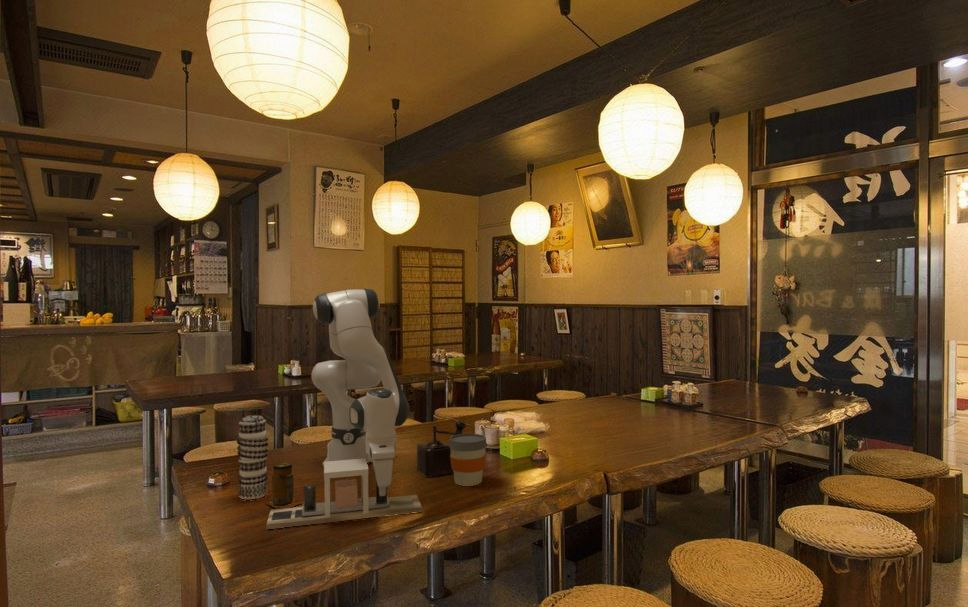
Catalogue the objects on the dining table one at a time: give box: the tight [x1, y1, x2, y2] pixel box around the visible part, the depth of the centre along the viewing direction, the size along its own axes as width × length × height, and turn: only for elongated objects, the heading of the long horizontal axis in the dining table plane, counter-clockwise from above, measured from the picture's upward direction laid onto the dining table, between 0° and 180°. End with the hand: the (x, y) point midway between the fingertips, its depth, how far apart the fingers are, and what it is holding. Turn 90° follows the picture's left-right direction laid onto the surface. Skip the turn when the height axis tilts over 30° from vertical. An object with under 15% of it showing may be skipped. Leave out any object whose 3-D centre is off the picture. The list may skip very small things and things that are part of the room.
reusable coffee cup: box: [448, 433, 487, 486], centre depth 185 cm, size 12×13×15 cm
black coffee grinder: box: [416, 420, 467, 478], centre depth 198 cm, size 16×11×18 cm
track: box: [265, 494, 423, 531], centre depth 159 cm, size 11×42×2 cm, turn 105°
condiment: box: [271, 462, 295, 506], centre depth 167 cm, size 7×8×12 cm
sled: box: [302, 478, 390, 516], centre depth 159 cm, size 7×24×7 cm, turn 105°
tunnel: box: [323, 458, 370, 518], centre depth 159 cm, size 11×12×12 cm
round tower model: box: [236, 414, 269, 500], centre depth 175 cm, size 9×9×25 cm
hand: (381, 492), depth 162 cm, fingers closed on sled, 3 cm apart
